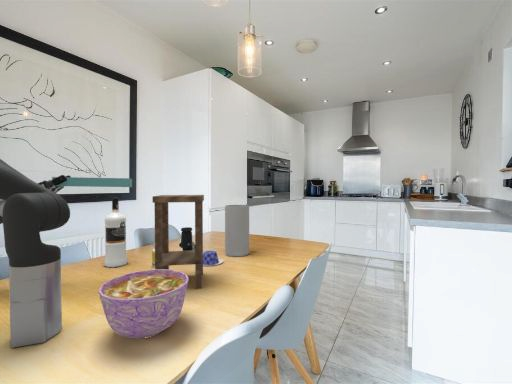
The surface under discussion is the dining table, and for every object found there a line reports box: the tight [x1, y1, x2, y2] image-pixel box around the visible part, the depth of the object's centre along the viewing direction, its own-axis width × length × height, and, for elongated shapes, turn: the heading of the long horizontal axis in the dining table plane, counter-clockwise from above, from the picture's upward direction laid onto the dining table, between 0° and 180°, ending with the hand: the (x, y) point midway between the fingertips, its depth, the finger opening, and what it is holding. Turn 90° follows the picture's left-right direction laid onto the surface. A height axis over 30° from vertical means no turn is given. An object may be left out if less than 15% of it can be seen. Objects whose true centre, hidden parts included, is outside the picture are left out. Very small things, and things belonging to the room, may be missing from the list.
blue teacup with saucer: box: [203, 250, 224, 267], centre depth 120 cm, size 12×12×5 cm
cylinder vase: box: [224, 204, 250, 258], centre depth 135 cm, size 12×12×25 cm
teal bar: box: [51, 176, 133, 188], centre depth 90 cm, size 24×3×3 cm, turn 100°
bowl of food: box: [98, 269, 190, 339], centre depth 64 cm, size 20×20×12 cm
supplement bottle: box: [151, 243, 155, 268], centre depth 115 cm, size 5×5×10 cm
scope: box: [178, 226, 195, 251], centre depth 132 cm, size 8×14×10 cm
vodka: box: [103, 197, 128, 268], centre depth 116 cm, size 9×9×30 cm
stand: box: [152, 194, 205, 290], centre depth 95 cm, size 16×16×32 cm
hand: (67, 177), depth 89 cm, fingers closed on teal bar, 3 cm apart
